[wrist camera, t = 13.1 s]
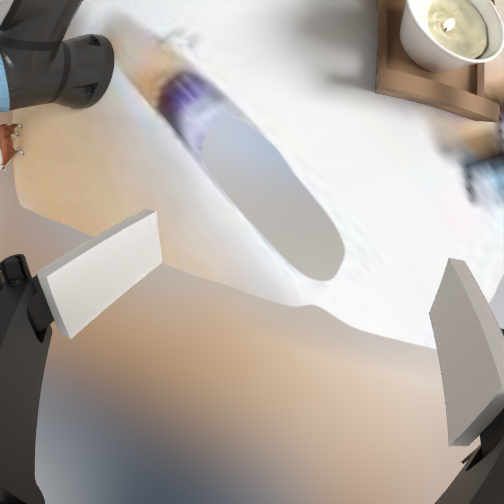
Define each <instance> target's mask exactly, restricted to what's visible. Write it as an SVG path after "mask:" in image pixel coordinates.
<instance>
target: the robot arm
mask: <svg viewBox="0 0 504 504" xmlns="http://www.w3.org/2000/svg"><path fill="white" fill-rule="evenodd" d="M82 1H83V0H0V112H8V111H9V110H14V109H19V108H24V107H29V106H35V105H41V104H47V103H56V104H59V105H63V106H66V107H70V108H74V109H79V108H87V107H90V106H92V105H94V104H95V103H96V102H98V101H99V99H100V98H101V97H102V96H103V94H104V93H105V91H106V89H107V87H108V85H109V83H110V80H111V77H112V73H113V68H114V52H113V48H112V45H111V43H110V41H109V40H108V39H107V38H106V37H104V36H102V35H95V34H87V35H83V36H79V37H76V38H72V39H69V40H65V41H62V40H63V38H64V35H65V33H66V31H67V29H68V27H69V25H70V23H71V21H72V19H73V17H74V16H75V14H76V12H77V10H78V8H79V6H80V5H81V3H82ZM160 263H162V255H161V247H160V239H159V231H158V222H157V212H156V211H151V210H143V211H141V212H139V213H137V214H135V215H133V216H131V217H129V218H128V219H126V220H124V221H122V222H120V223H118V224H116V225H115V226H113V227H111V228H109V229H107V230H105V231H104V232H102V233H100V234H98V235H97V236H95V237H93V238H91V239H90V240H88V241H86V242H84V243H83V244H81V245H79V246H78V247H76V248H74V249H73V250H71V251H69V252H67V253H66V254H64V255H63V256H61V257H59V258H58V259H56V260H55V261H53V262H51V263H50V264H48V265H47V266H45V267H43V268H42V269H40V270H39V271H37V275H36V276H35V277H33V278H32V277H31V274H30V271H29V268H28V265H27V262H26V259H25V256H24V255H22V254H17V255H13V256H10V257H8V258H6V259H4V260H3V261H1V263H0V271H1V272H0V504H45V501H44V497H43V495H42V492H41V491H40V489H39V487H38V486H37V484H36V481H35V475H34V474H35V473H34V472H35V439H36V426H37V416H38V407H39V399H40V392H41V385H42V380H43V374H44V368H45V363H46V358H47V353H48V348H49V344H50V340H51V336H52V328H51V325H50V324H51V323H52V322H53V321H55V323H56V325H57V328H58V330H59V332H60V333H61V334H63V335H64V336H66V337H68V338H70V339H71V338H73V337H74V336H75V335H76V334H77V333H78V332H79V331H80V330H82V329H83V328H84V327H85V326H86V325H87V324H88V323H90V322H91V321H92V320H93V319H94V318H95V317H97V315H99V314H100V313H101V312H102V311H103V310H105V309H106V308H107V307H108V306H109V305H110V304H112V303H113V302H114V301H115V300H116V299H117V298H119V297H120V296H121V295H122V294H124V293H125V292H126V291H127V290H128V289H130V288H131V287H132V286H133V285H134V284H136V283H137V282H138V281H139V280H140V279H142V278H143V277H144V276H145V275H147V274H148V273H149V272H150V271H151V270H153V269H154V268H155V267H156V266H158V265H159V264H160ZM1 274H2V275H1ZM2 276H3V278H2ZM3 279H4V280H3ZM429 315H430V320H431V324H432V328H433V332H434V337H435V342H436V347H437V352H438V357H439V362H440V368H441V375H442V381H443V388H444V396H445V404H446V411H447V412H446V414H447V424H448V440H449V446H468V445H470V444H471V443H472V442H473V441H474V440H475V439H476V438H477V437H478V436H479V435H480V440H481V445H480V446H479V447H478V448H477V449H475V450H474V451H473V452H472V453H471V454H470V455H468V456H467V457H466V458H465V459H464V460H463V461H462V463H463V464H464V463H465V462H466V461H467V460H468V461H467V463H466V464H465V466H464V467H463V469H462V470H461V471H460V473H459V474H458V475H457V477H456V478H455V479H454V481H453V482H452V483H451V484H450V486H449V487H448V488H447V490H446V491H445V492H444V493H443V494H442V496H441V497H440V498H439V499H438V500H437V502H436V503H435V504H504V329H500V327H499V325H498V323H497V321H496V318H495V316H494V314H493V312H492V310H491V308H490V306H489V304H488V302H487V300H486V298H485V297H484V295H483V293H482V291H481V289H480V287H479V285H478V284H477V282H476V280H475V278H474V277H473V275H472V273H471V271H470V270H469V268H468V266H467V265H466V263H465V261H462V260H457V259H452V258H449V259H448V263H447V266H446V269H445V272H444V275H443V278H442V281H441V283H440V286H439V289H438V292H437V294H436V297H435V300H434V302H433V305H432V307H431V310H430V312H429Z"/></svg>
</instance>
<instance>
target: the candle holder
mask: <svg viewBox="0 0 504 504" xmlns="http://www.w3.org/2000/svg"><path fill="white" fill-rule="evenodd" d="M399 35H400V41H401V44H402V47H403V49H404V50H405V52H406V53H407V55H408V56H409V57H410V58H411V59H412V60H413V61H414V62H415V63H416V64H418V65H419V66H421V67H422V68H424V69H426V70H429V71H432V72H439V73H442V72H448V71H452V70H456V69H459V68H462V67H466V66H469V65H473V64H477V63H483V62H487V61H490V60H492V59H494V58H495V57H496V56H497V55H498V54H499V53H500V52H501V50H502V48H503V45H504V27H503V23H502V20H501V17H500V15H499V13H498V11H497V9H496V8H495V6H494V5H493V3H492V2H491V0H405V5H404V10H403V15H402V19H401V24H400V31H399Z"/></svg>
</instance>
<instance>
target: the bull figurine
mask: <svg viewBox="0 0 504 504" xmlns="http://www.w3.org/2000/svg"><path fill="white" fill-rule="evenodd" d="M16 127H19V128H22V125H20V124H13V125H11V126H8V125H6V124H2V125H1V126H0V170H1V171H3V172H6V171H7V167H8V165H9V163H10V162H11V161H12V160H13V158H14V156H15V154H22V155H24V152H23V151H20V148H19V147H18V148H16V149H14V148H13V141H14V140H15V139H14V138H12V136H11V134H16V135H17V136H19V133H17V132H18V131H14V130H13V129H15V128H16Z"/></svg>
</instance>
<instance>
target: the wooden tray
mask: <svg viewBox="0 0 504 504" xmlns="http://www.w3.org/2000/svg"><path fill="white" fill-rule="evenodd" d="M491 2H492V3H493V5H494V6H495V3H494V0H491ZM404 5H405V0H378V54H377V75H376V90H375V93H379V94H384V95H388V96H393V97H397V98H402V99H406V100H410V101H414V102H418V103H422V104H425V105H429V106H432V107H436V108H439V109H442V110H446V111H449V112H452V113H455V114H458V115H461V116H464V117H467V118H469V119H472V120H475V121H488V122H499V110H500V105H499V104H496V103H494V102H492V101H489V100H487V99H485V98H484V62H483V63H477V64H473V65H469V66H466V67H462V68H459V69H456V70H452V71H448V72H442V73H439V72H432V71H429V70H426V69H424V68H422V67H421V66H419V65H418V64H416V63H415V62H414V61H413V60H412V59H411V58H410V57H409V56H408V55H407V53H406V52H405V50H404V49H403V47H402V44H401V41H400V35H399V31H400V24H401V19H402V15H403V10H404Z"/></svg>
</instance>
